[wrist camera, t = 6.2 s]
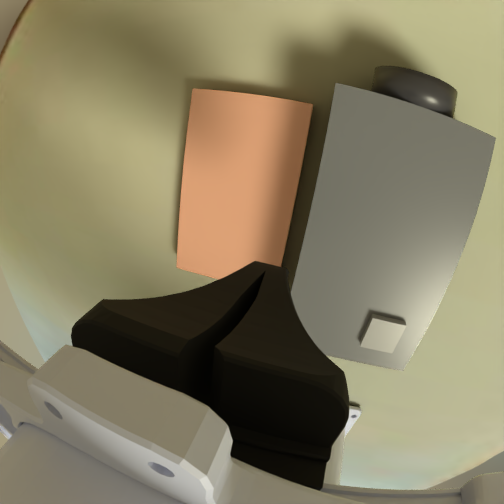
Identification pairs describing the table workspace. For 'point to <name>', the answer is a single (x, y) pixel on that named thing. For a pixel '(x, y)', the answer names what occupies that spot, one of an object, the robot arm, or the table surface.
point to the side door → (239, 180)
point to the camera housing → (388, 216)
